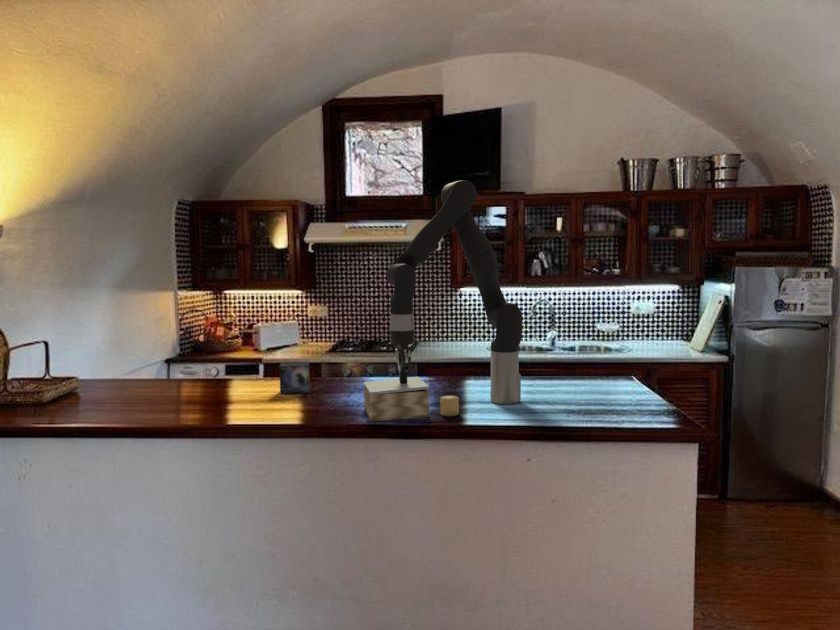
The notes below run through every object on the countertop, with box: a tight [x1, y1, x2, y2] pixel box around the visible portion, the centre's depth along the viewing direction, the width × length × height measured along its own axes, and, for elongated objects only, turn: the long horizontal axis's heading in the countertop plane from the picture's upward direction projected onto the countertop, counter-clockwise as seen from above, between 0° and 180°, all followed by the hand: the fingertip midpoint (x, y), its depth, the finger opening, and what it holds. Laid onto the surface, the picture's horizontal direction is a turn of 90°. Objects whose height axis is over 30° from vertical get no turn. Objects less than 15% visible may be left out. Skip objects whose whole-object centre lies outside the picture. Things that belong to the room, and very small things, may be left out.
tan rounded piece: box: [440, 395, 460, 417], centre depth 184 cm, size 6×6×5 cm
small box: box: [279, 361, 311, 395], centre depth 214 cm, size 11×6×10 cm, turn 101°
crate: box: [363, 385, 430, 422], centre depth 185 cm, size 18×14×8 cm
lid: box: [363, 376, 430, 395], centre depth 185 cm, size 18×14×1 cm
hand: (403, 383), depth 185 cm, fingers closed
